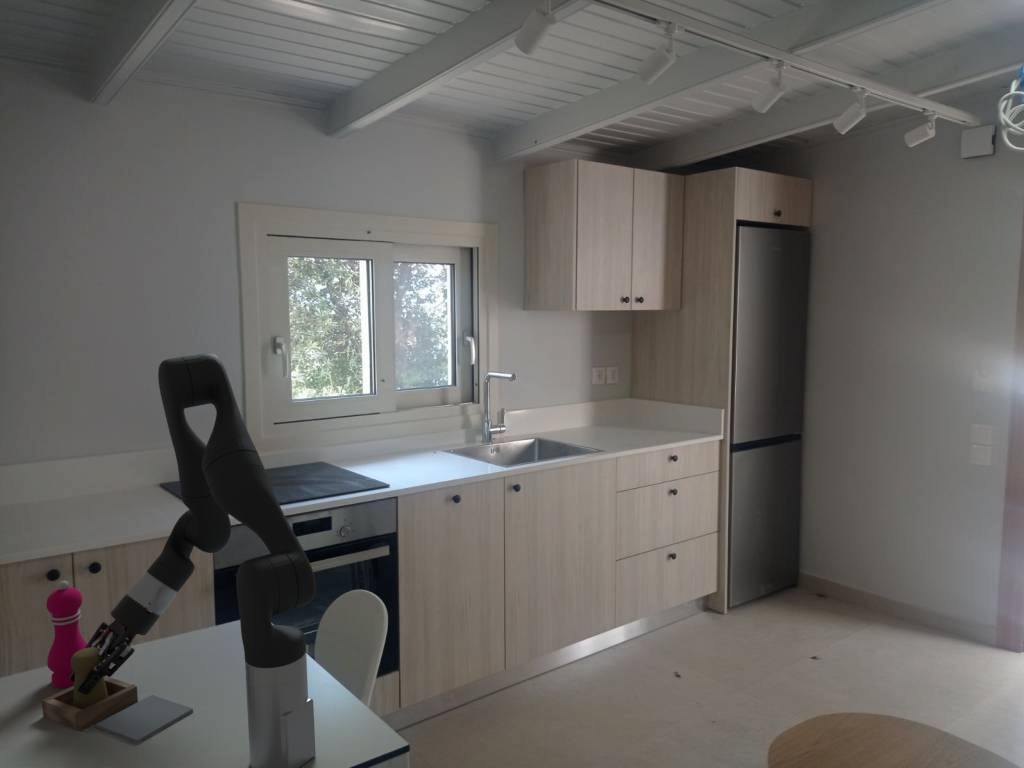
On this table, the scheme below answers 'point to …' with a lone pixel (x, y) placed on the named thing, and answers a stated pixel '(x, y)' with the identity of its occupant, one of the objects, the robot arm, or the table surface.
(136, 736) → the rubber mat
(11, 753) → the table surface
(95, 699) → the cork
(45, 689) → the table surface
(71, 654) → the pepper mill
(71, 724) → the walnut collar
